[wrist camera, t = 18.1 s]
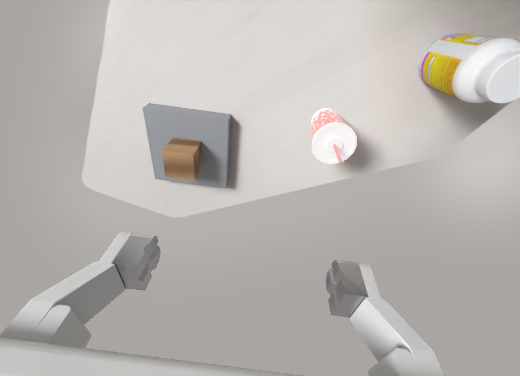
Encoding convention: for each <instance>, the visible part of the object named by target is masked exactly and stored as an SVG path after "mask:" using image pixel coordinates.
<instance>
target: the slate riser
mask: <svg viewBox="0 0 520 376" xmlns="http://www.w3.org/2000/svg"><path fill="white" fill-rule="evenodd" d="M143 112H144V118H145V123H146V129H147V135H148V140H149V146H150V152H151V157H152V163H153V169H154V174H155V179H160V180H167V181H175V182H182V183H189V184H197V185H204V186H211V187H219V188H226V186H227V183H228V172H229V149H230V125H231V115H230V114H223V113H216V112H209V111H201V110H194V109H187V108H180V107H172V106H165V105H158V104H151V103H149V104H148V105H146V106H145V107H143ZM172 138H181V139H188V140H195V141H202V162H203V166H202V168H201V170H200V172H199V174H198V176H197V178H196V180H195V181H191V180H184V179H176V178H169V177H165V171H164V164H163V157H162V150H163V148H164V147H165V146H166V145H167V144H168V143H169V142H170V141H171V139H172Z"/></svg>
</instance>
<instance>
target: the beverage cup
mask: <svg viewBox="0 0 520 376" xmlns="http://www.w3.org/2000/svg"><path fill="white" fill-rule="evenodd" d="M311 126H312V135H313V140H312V150H313V154H314V155H315V157H316V158H317V159H318V160H320V161H321V162H323V163H327V164H336V163H339V164H340V165H343V164H344V162H343V161H344V160H346V159H348V158H349V157H350V156H351V155H352V154H353V153H354V151H355V148H356V146H357V136H356V134H355V133H354V131H353V129H352V128H351V127H350V126H348V125H347V124H345V122H344V121H343V120H342V119H341V117H340V116H339V115H338V114H337V112H336V111H334V110H333V109H329V108H324V109H320V110H319V111H317V112H316V113H315V114H314V116H313V117H312V121H311Z"/></svg>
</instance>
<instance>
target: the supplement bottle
mask: <svg viewBox="0 0 520 376" xmlns="http://www.w3.org/2000/svg"><path fill="white" fill-rule="evenodd" d="M419 74H420V77H421V79H422V81H423V82H424V83H426V84H427V85H429V86H431V87H433V88H436V89H438V90H440V91H442V92H444V93H447V94H449V95H451V96H453V97H455V98H458V99H460V100H462V101H465V102H468V103H483V102H487V101H491V102H494V103H508V102H511V101H514V100H516V99H518V98H520V42H519V41H517V40H515V39H511V38H502V37H490V36H480V35H469V34H450V35H447V36H444V37H442V38H440V39H438V40H437V41H435V42H434V43H433V44H432V45H431V46H430V47H429V48H428V49H427V50H426V52H425V53H424V55H423V57H422V59H421V61H420V65H419Z"/></svg>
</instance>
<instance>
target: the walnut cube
mask: <svg viewBox="0 0 520 376" xmlns="http://www.w3.org/2000/svg"><path fill="white" fill-rule="evenodd" d="M162 157H163V164H164V171H165V177H169V178H176V179H184V180H191V181H195V180H196V178H197V176H198V174H199V172H200V170H201V168H202V166H203V162H202V141H195V140H188V139H181V138H172V139H171V141H170V142H169V143H168V144H167V145H166V146H165V147H164V148H163V150H162Z"/></svg>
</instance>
